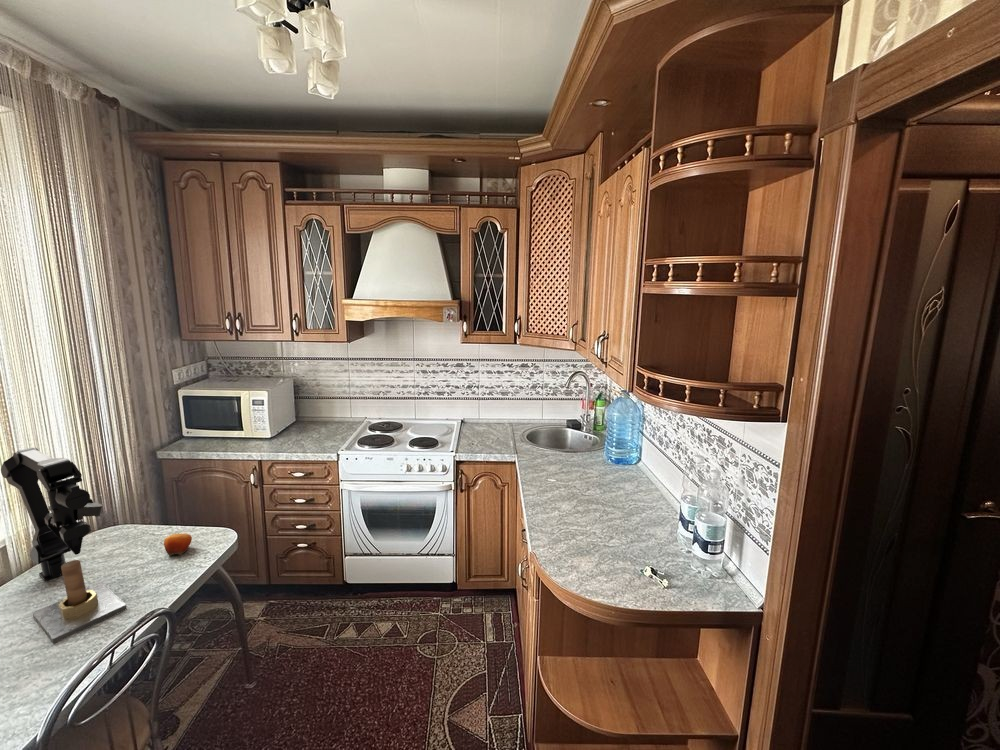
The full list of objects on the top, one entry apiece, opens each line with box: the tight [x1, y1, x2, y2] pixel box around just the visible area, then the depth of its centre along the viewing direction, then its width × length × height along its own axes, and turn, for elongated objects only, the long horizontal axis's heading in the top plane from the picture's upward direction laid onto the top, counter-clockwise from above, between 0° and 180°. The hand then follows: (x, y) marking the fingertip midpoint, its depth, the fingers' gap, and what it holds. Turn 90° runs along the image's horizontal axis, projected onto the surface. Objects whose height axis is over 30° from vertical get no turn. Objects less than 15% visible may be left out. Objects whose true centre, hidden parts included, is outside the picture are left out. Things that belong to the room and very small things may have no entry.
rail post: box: [61, 559, 88, 606], centre depth 134 cm, size 4×4×14 cm
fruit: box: [163, 532, 193, 557], centre depth 165 cm, size 8×8×8 cm
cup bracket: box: [32, 582, 127, 645], centre depth 135 cm, size 18×16×4 cm
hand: (72, 549), depth 145 cm, fingers open, 9 cm apart
